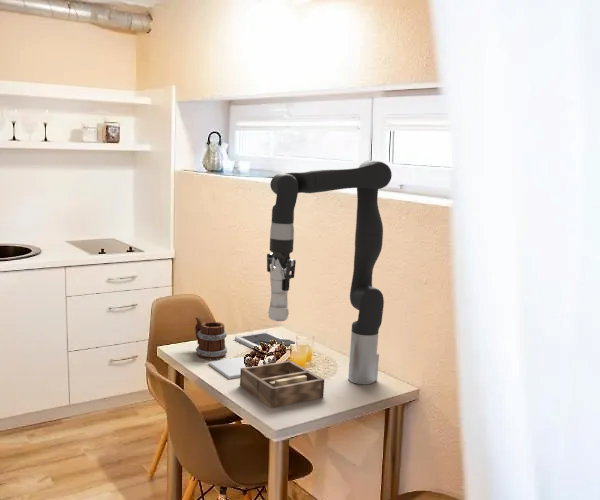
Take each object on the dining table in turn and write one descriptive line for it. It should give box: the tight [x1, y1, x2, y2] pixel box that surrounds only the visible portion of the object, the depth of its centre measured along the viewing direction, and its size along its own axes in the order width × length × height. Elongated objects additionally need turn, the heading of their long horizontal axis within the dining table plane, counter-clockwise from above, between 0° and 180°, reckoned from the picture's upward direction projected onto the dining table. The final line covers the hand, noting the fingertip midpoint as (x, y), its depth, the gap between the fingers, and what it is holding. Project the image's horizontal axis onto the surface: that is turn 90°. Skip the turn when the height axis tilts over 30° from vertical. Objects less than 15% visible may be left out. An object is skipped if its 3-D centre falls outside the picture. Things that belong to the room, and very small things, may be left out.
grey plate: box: [208, 356, 246, 380], centre depth 229 cm, size 16×16×1 cm
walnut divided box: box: [239, 360, 325, 409], centre depth 209 cm, size 19×20×6 cm
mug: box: [194, 316, 228, 361], centre depth 242 cm, size 12×14×15 cm
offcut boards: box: [269, 375, 307, 387], centre depth 204 cm, size 14×5×6 cm, turn 123°
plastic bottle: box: [267, 260, 290, 322], centre depth 208 cm, size 6×7×20 cm
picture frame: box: [234, 331, 295, 349], centre depth 259 cm, size 16×3×21 cm
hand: (279, 288), depth 208 cm, fingers closed on plastic bottle, 6 cm apart
